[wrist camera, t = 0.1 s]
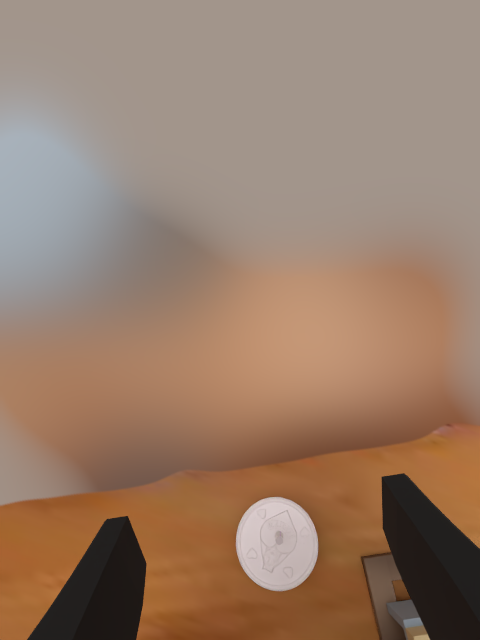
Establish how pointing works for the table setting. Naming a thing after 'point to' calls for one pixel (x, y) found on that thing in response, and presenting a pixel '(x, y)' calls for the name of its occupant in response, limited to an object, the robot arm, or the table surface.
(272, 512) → the smoothie
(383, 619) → the puzzle board
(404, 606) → the cover
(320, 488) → the table surface
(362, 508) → the table surface
